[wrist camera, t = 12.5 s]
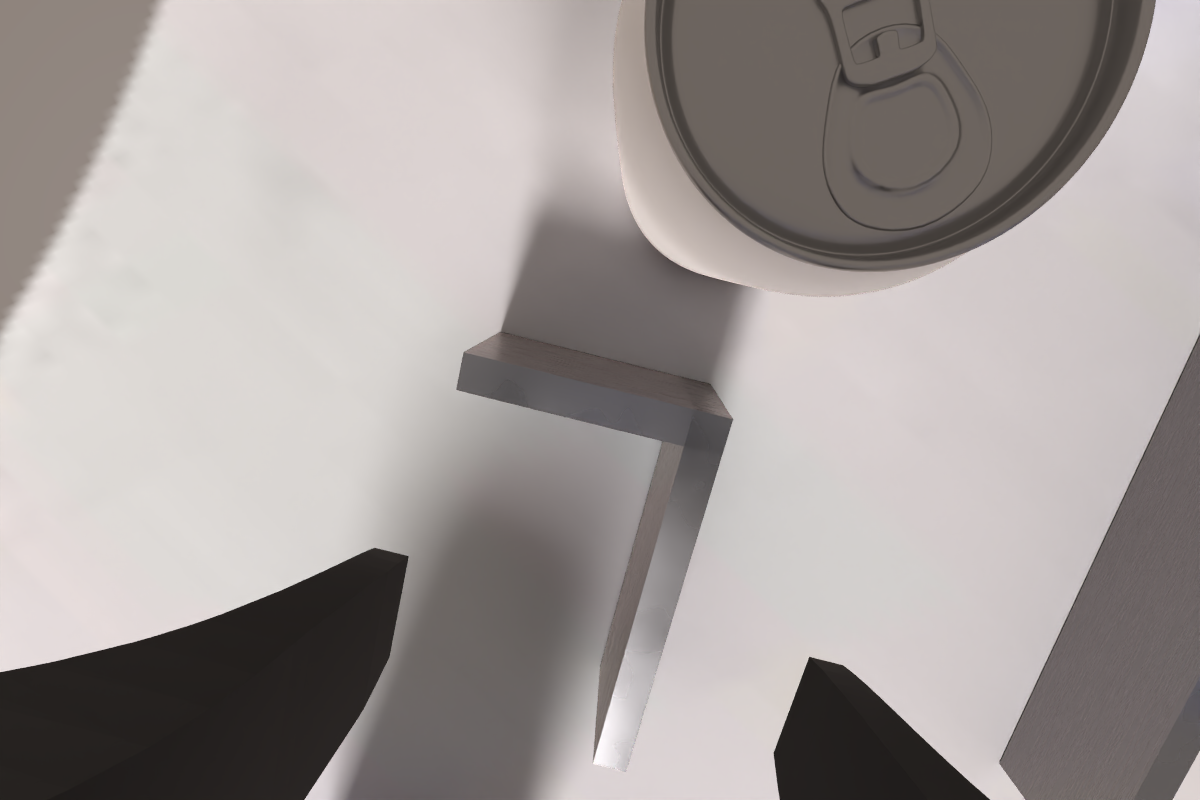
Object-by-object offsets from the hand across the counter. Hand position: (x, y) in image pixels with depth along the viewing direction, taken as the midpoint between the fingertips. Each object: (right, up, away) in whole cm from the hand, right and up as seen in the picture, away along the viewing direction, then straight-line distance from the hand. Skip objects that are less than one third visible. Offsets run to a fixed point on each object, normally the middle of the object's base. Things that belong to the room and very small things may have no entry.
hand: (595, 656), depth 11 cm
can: (+4, +11, +8) cm, 15 cm away
